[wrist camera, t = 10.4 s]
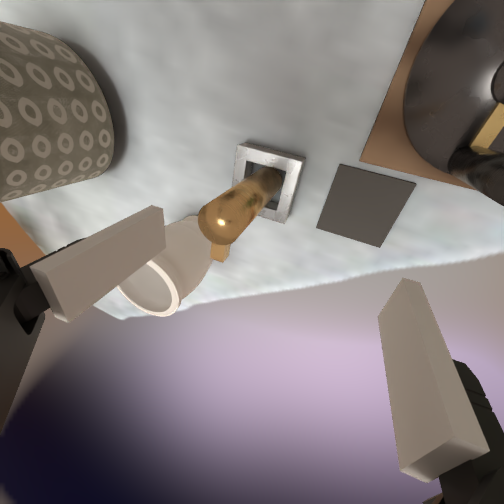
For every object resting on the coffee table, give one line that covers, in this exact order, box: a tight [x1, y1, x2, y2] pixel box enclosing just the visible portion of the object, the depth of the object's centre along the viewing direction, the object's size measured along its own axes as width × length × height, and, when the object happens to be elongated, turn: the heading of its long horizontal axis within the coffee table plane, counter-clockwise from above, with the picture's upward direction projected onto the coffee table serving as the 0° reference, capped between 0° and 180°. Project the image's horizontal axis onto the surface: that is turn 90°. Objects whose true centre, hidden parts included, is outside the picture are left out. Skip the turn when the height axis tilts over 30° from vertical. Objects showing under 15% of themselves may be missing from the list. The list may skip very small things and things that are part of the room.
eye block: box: [232, 142, 306, 224], centre depth 32 cm, size 8×8×3 cm
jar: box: [117, 215, 213, 316], centre depth 37 cm, size 11×10×15 cm
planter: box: [0, 21, 114, 202], centre depth 31 cm, size 19×19×18 cm
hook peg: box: [198, 166, 282, 263], centre depth 28 cm, size 6×4×16 cm, turn 169°
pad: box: [316, 164, 416, 248], centre depth 31 cm, size 9×9×1 cm
